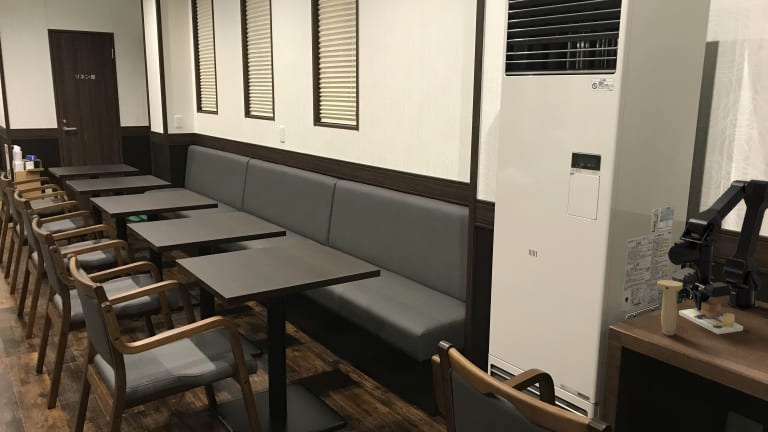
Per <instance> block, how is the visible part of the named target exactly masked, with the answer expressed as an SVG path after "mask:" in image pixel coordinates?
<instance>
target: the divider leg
mask: <svg viewBox="0 0 768 432" xmlns="http://www.w3.org/2000/svg"><path fill="white" fill-rule="evenodd" d="M721 312H722V303H721V302H718V301H715V300H708V301H706V302H702V303H701V315H696V317H697V318H700V317H706V318H715V317H720V316H721V314H722V313H721Z"/></svg>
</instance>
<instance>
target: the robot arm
mask: <svg viewBox="0 0 768 432" xmlns="http://www.w3.org/2000/svg"><path fill="white" fill-rule="evenodd" d="M742 200H743V201H744V204H745V207H746V209H745V212H744V216H743V220H742V224H741V228H740V233H739V237H738V241H737V244H736V249H735V252H734V253H733V255H731V256H730V257H726V258H725V260H724V265H723V268H722V270H723V271H722V272H723V273H722V274H723V277H724V281H725V283H723V282H722V281H719V282H715V281H716V277H714V276H713V268H716V263H714V262H713V254H714V253H713V252H714V251H713V250H714V245H717V244H719V240H717V239H716V238H715V237H716V236H717V235H718V233H719V232H720V230H721V229H722V227H723V220H725V218H726V217H727V216H728V215H729V214H730V213H731V212H732V211H733V210H734V209H735V208H736V207H737V206H738V205H739V204H740V203H741V202H742ZM767 210H768V180H761V179H750V180H743V179H736V180H732V182H730V185H729V186H728V188H727V189H726V190H725V191H724V192H723V193H722V194H721V195H720V196H719V197H718V198H717V199H716V200H715V201H714V202H713V203H712V205H710V207H709V208H707V209H706V210H702V211H700V212H698V213H696V214H695V215H693V216H692V217H691V218H690V219H689V220H688V222H687V224H686V226H685V228H684V230H683V232H682V233H681V236H680V237H679V240H678V241H677V240H675V241H674V242H673V243H674V244H673V245H672V246H671V247H670V248H669V249H668V252H667V257H668V259H669V261H670V262H671V264H672V265H674V266H682V265H685V268H681V269H678V270H674V271H673V272H672V273H671V274H670V276H671V281H677V282H680V283H683V288H682V289H687V290H688V291H689V292H690V293H691V295H692V298H693V301H694V304H695V308H697V310H699V311H700V310H701V303H702V302H706V301H710V298H718V297H727V296H729V297H728V298H729V300H728V301H726V302H725V304H727V305H728V306H729V305H730V306H732V307H734V308H736V309H738V310H748V309H754V308H755V309H756V308H759V307H760V305H758V304H756V296H757V295H756V294H757V293H756V292H757V291H758V292H759V291H760V290H762V287H763V284H764V282H763V280H762V279H761V278H760V276H759V275H758V274H757V272H758V265H757V262H756V259H755V254H756V253H755V252H756V248H757V245H758V241H759V237H760V232H761V229H762V224H763V220H764V217H765V213H766V211H767Z"/></svg>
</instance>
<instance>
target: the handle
mask: <svg viewBox="0 0 768 432" xmlns="http://www.w3.org/2000/svg"><path fill="white" fill-rule="evenodd" d="M656 283H657V288H659V289H660V290H661V291H662V304H661V310H660V311H661V315H660V320H661V322H660V323H661V324H660V325H661V328H662V329H661V332H662V334H663V335H665V336H674V335H675V334H676V328H677V320H678V314H677V313H678V311H677V310H678V309H677V307H678V306H677V292H680V291H681V290H683V289H684V288H683V283H680V282H677V281H673V280H672V279H670V280H669V279H660V280H657V282H656Z"/></svg>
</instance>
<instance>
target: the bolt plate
mask: <svg viewBox="0 0 768 432" xmlns="http://www.w3.org/2000/svg"><path fill="white" fill-rule="evenodd" d="M678 315H680V316H681V317H683V318H685V319H687V320H688V321H691V322H693V323H694V324H697V325H699V326H701V327H703V328H705V329H707V330H708V331H711V332H712V333H714V334H716V335H720V334H727V333H729V334H730V333H735V332H741V331H744V326H743V325H741V324H739V323H736V321H735V316H736V315H735V314H734V313H731V312H724V313H723V314H722V315H720V317H715V318H706V317H700V318H697V317H696V315H701V310H700V311H699V310H697V308H696V307H695V308H688V309H682V310H679V311H678Z"/></svg>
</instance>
